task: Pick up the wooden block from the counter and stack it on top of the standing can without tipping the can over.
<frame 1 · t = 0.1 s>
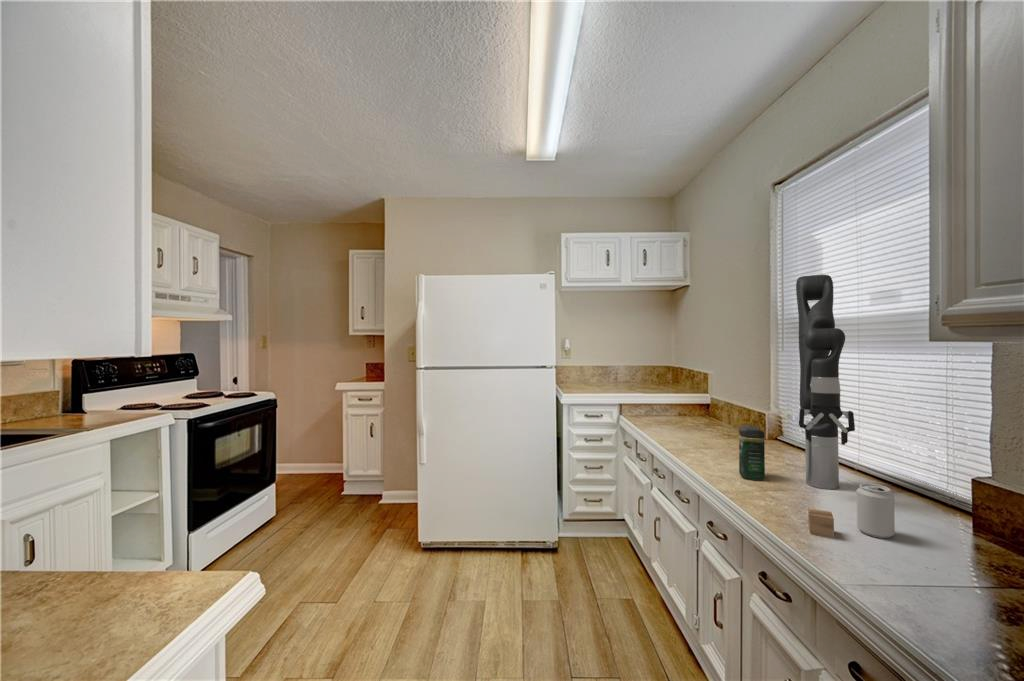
hand: (826, 442, 137), 17 cm above the counter, tool pointing down, fingers open, 8 cm apart
can: (875, 533, 112), on the counter
coffee jar: (751, 477, 159), on the counter
block: (820, 532, 113), on the counter
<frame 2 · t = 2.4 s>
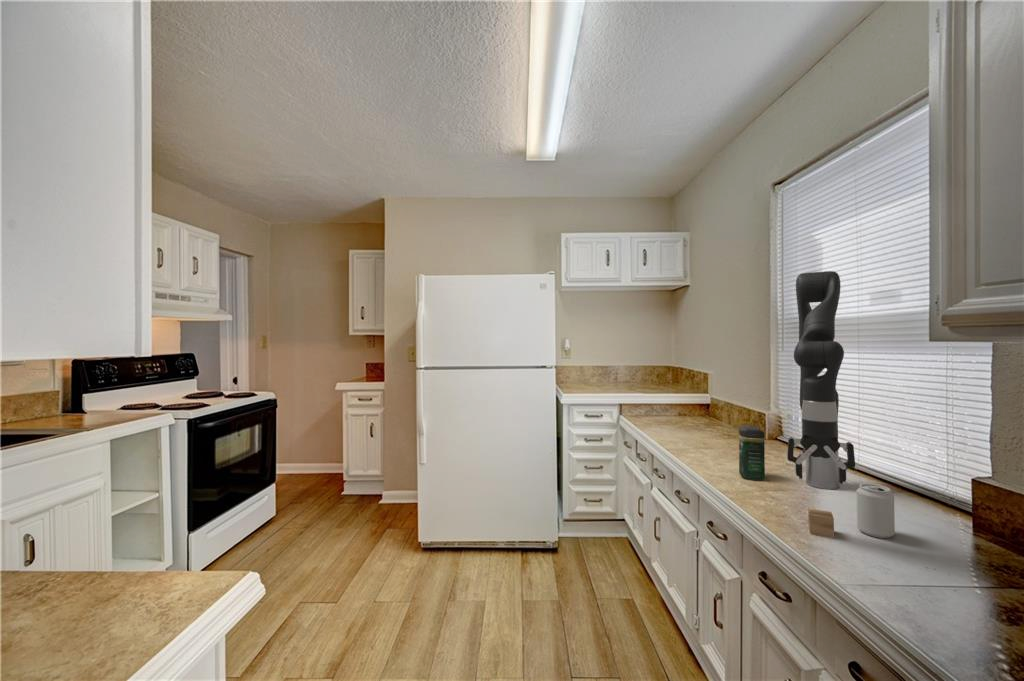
hand: (820, 480, 113), 13 cm above the counter, tool pointing down, fingers open, 8 cm apart
nothing on the counter moved.
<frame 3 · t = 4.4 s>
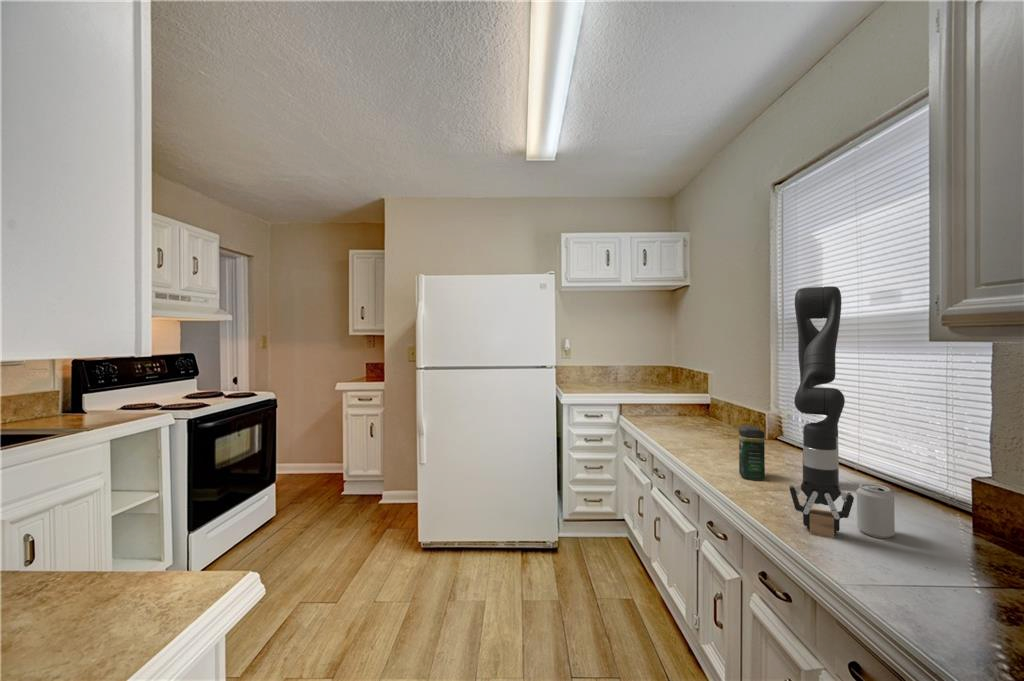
hand: (820, 529, 113), 1 cm above the counter, tool pointing down, fingers closed on block, 5 cm apart
block: (821, 532, 113), on the counter, touching gripper
everything else where it was.
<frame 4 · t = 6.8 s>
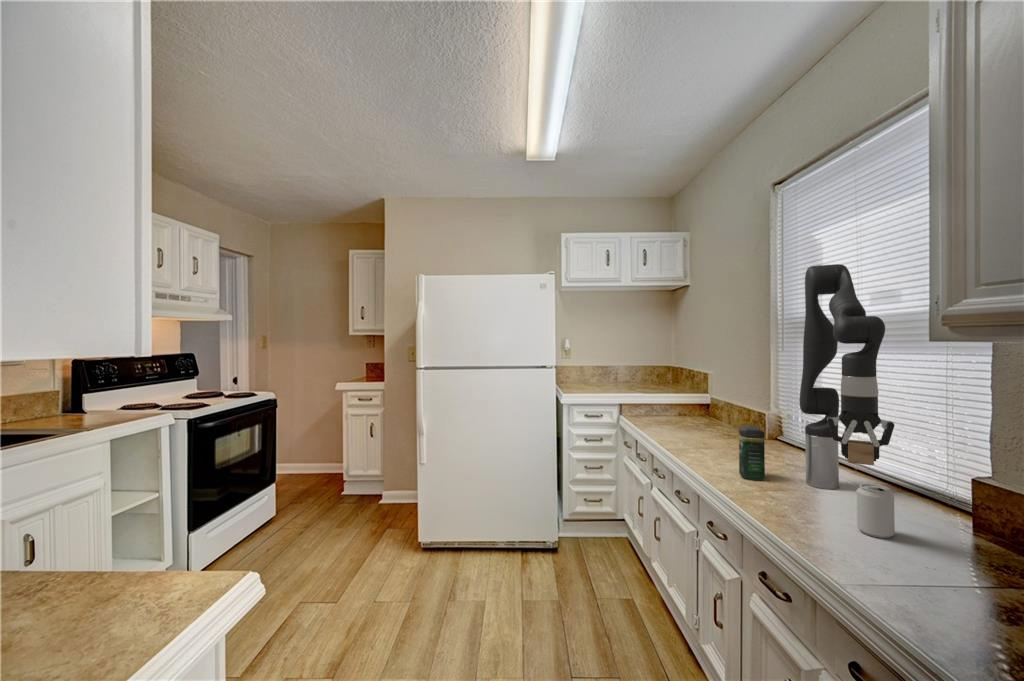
hand: (859, 458, 113), 19 cm above the counter, tool pointing down, fingers closed on block, 5 cm apart
block: (859, 461, 113), point 18 cm above the counter, touching gripper
everything else where it was.
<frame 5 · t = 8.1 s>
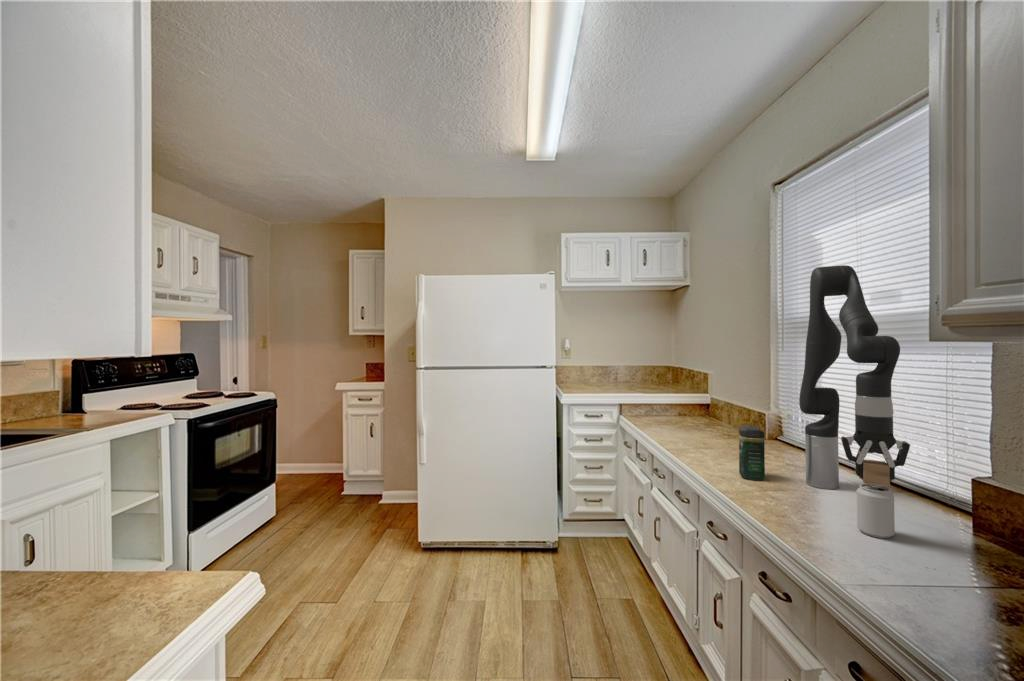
hand: (874, 479, 112), 14 cm above the counter, tool pointing down, fingers closed on block, 5 cm apart
block: (874, 482, 112), point 13 cm above the counter, touching gripper
everything else where it was.
when the fingers open (14 cm above the counter, at t = 9.0 s): block stays where it is, resting on can.
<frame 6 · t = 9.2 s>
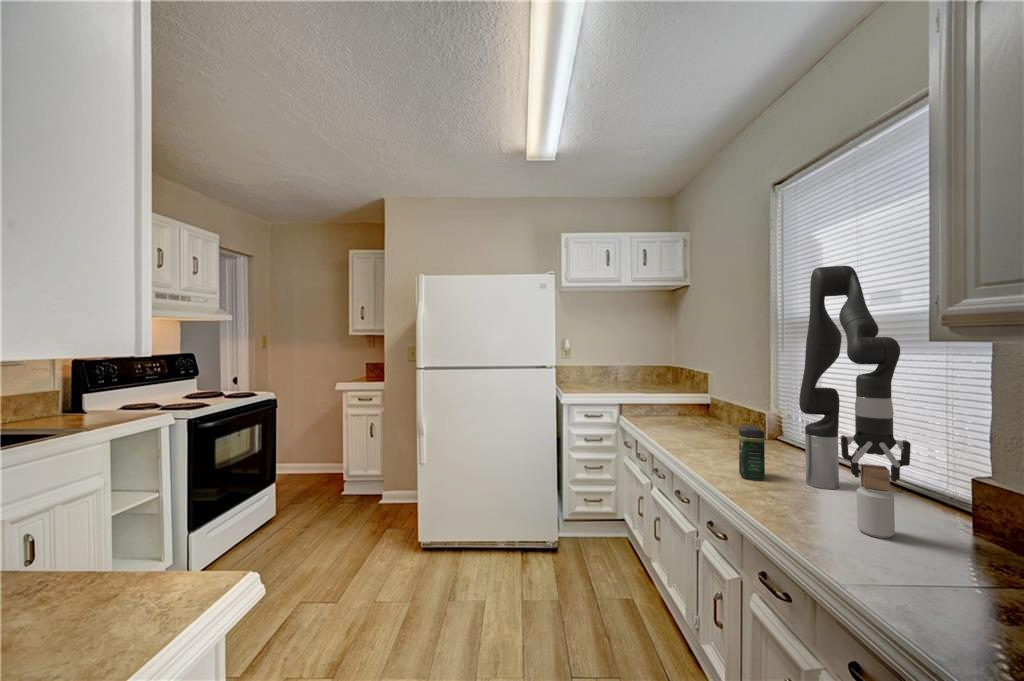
hand: (874, 478, 112), 14 cm above the counter, tool pointing down, fingers open, 7 cm apart
can: (875, 533, 112), on the counter, touching block
block: (874, 486, 112), point 12 cm above the counter, touching can
everything else where it was.
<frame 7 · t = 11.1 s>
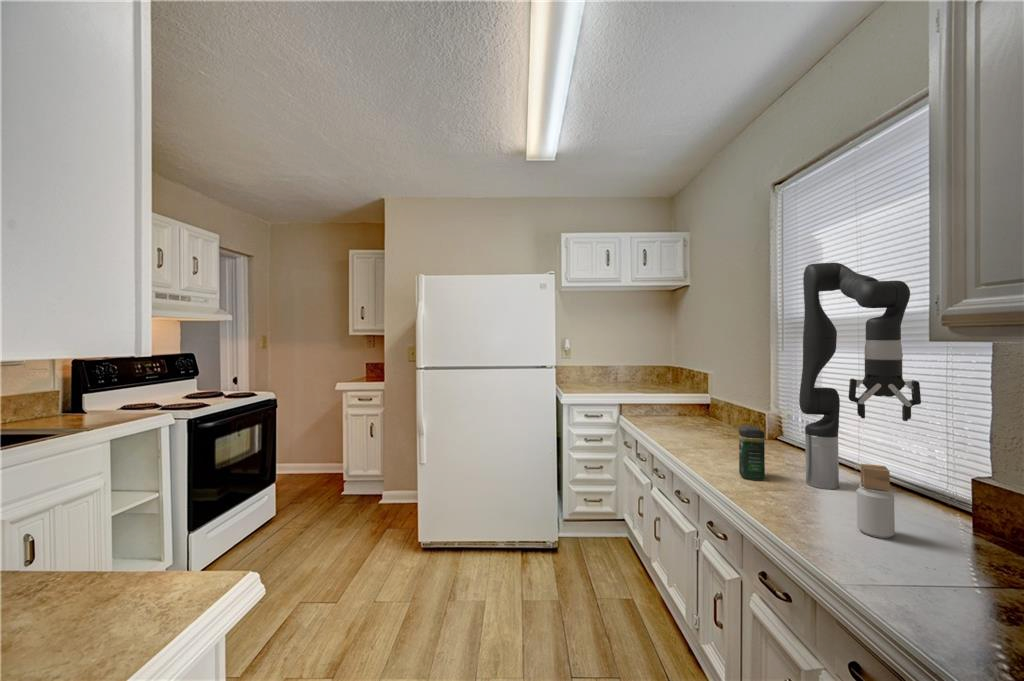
hand: (883, 419, 114), 29 cm above the counter, tool pointing down, fingers open, 8 cm apart
nothing on the counter moved.
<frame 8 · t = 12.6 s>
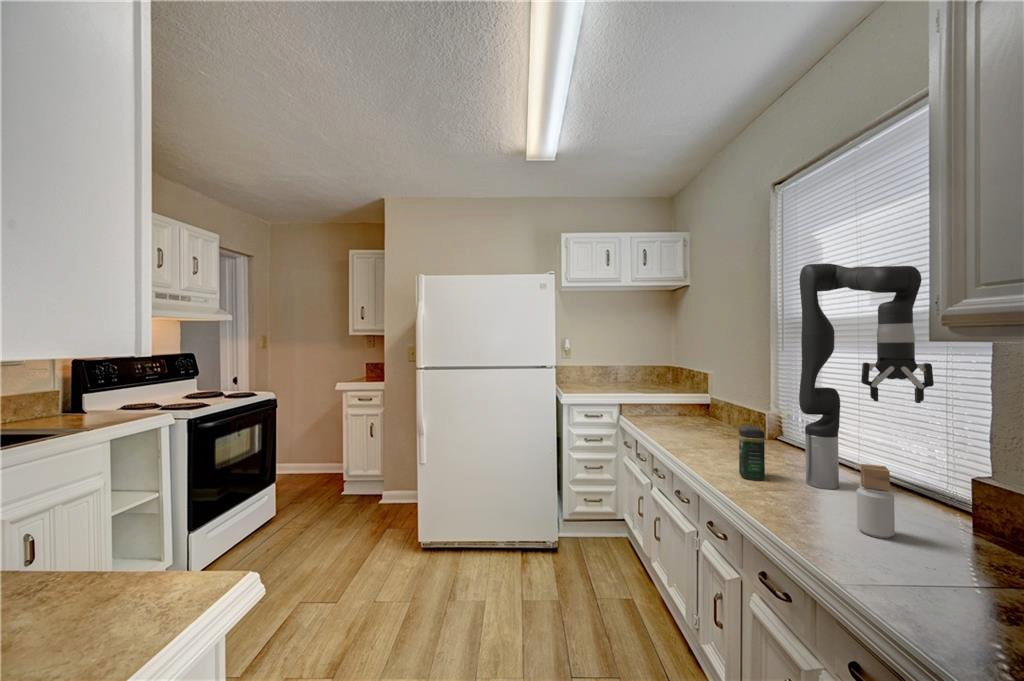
hand: (896, 401, 116), 33 cm above the counter, tool pointing down, fingers open, 8 cm apart
nothing on the counter moved.
at the end: block 0.1 cm off-centre on the can, point 12.2 cm above the can's base; can tilted 0°; the gripper is holding nothing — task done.
